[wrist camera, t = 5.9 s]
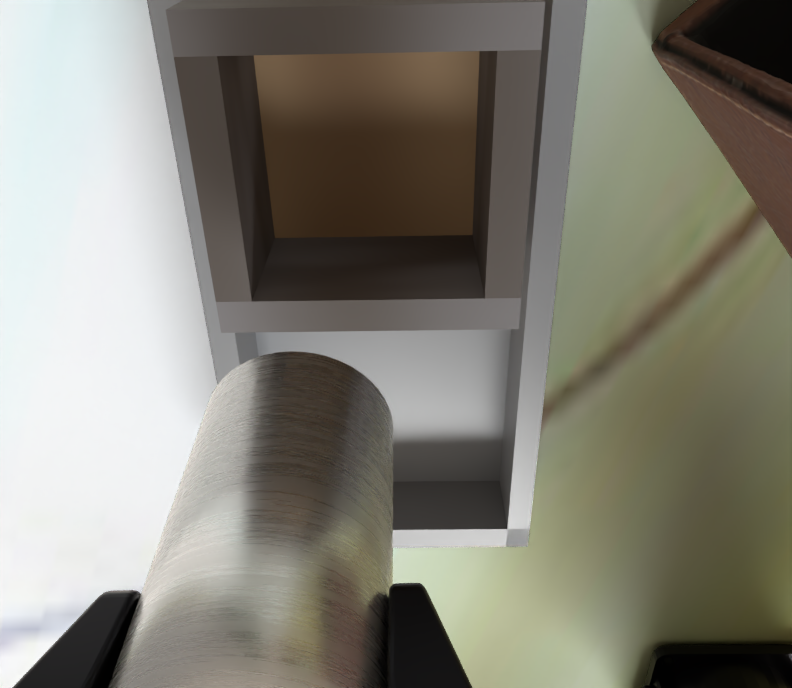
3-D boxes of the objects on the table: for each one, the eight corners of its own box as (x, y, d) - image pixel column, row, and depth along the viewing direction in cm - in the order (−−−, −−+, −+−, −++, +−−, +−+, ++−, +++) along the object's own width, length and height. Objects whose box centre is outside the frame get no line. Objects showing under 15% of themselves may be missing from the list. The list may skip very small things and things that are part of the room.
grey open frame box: (504, -63, 16) (552, -39, 11) (489, 232, 20) (519, 352, 15) (233, -58, 16) (155, -31, 11) (268, 235, 20) (222, 355, 15)
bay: (571, -119, 16) (600, -119, 14) (516, 485, 26) (527, 546, 23) (167, -109, 16) (127, -108, 14) (261, 487, 26) (247, 548, 24)
